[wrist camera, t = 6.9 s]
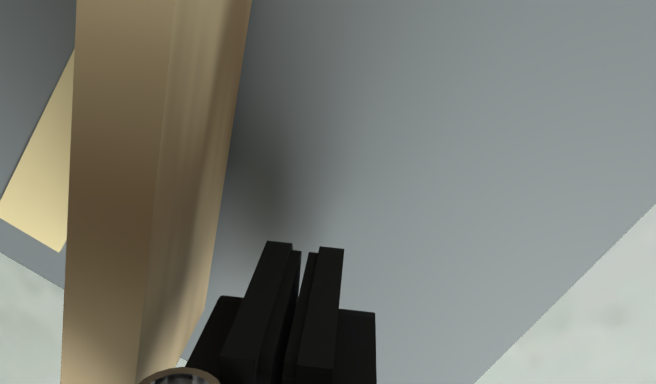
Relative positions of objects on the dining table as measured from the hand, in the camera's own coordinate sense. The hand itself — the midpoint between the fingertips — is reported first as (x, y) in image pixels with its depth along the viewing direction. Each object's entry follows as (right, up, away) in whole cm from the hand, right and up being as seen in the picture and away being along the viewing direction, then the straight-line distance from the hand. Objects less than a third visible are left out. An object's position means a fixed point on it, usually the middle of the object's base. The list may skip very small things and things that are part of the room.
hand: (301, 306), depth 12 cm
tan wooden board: (-2, +5, 0) cm, 5 cm away
